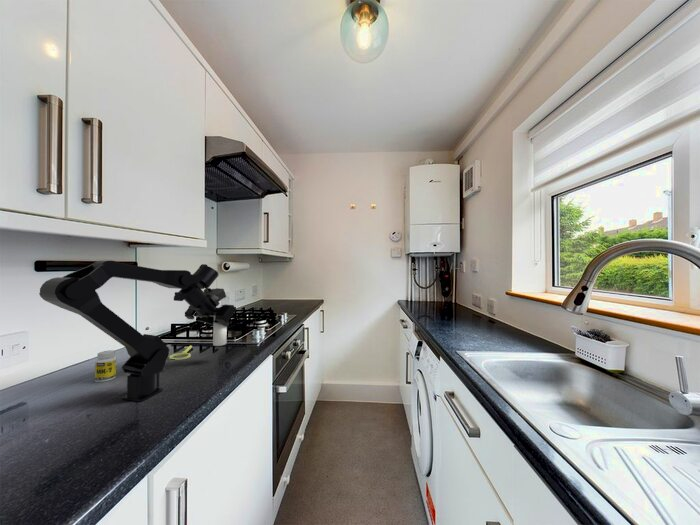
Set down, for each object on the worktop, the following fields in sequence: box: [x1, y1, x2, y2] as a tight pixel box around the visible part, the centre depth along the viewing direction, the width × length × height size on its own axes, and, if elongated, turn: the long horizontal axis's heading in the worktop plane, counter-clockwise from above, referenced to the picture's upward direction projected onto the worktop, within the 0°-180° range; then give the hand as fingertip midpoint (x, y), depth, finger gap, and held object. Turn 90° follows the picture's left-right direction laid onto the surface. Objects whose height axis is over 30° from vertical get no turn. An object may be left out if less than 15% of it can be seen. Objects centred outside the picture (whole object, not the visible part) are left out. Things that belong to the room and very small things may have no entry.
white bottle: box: [212, 316, 228, 347], centre depth 95 cm, size 4×4×13 cm
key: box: [168, 344, 193, 361], centre depth 102 cm, size 7×12×2 cm, turn 29°
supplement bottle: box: [94, 349, 117, 383], centre depth 80 cm, size 5×5×8 cm
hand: (223, 325), depth 96 cm, fingers closed on white bottle, 4 cm apart
